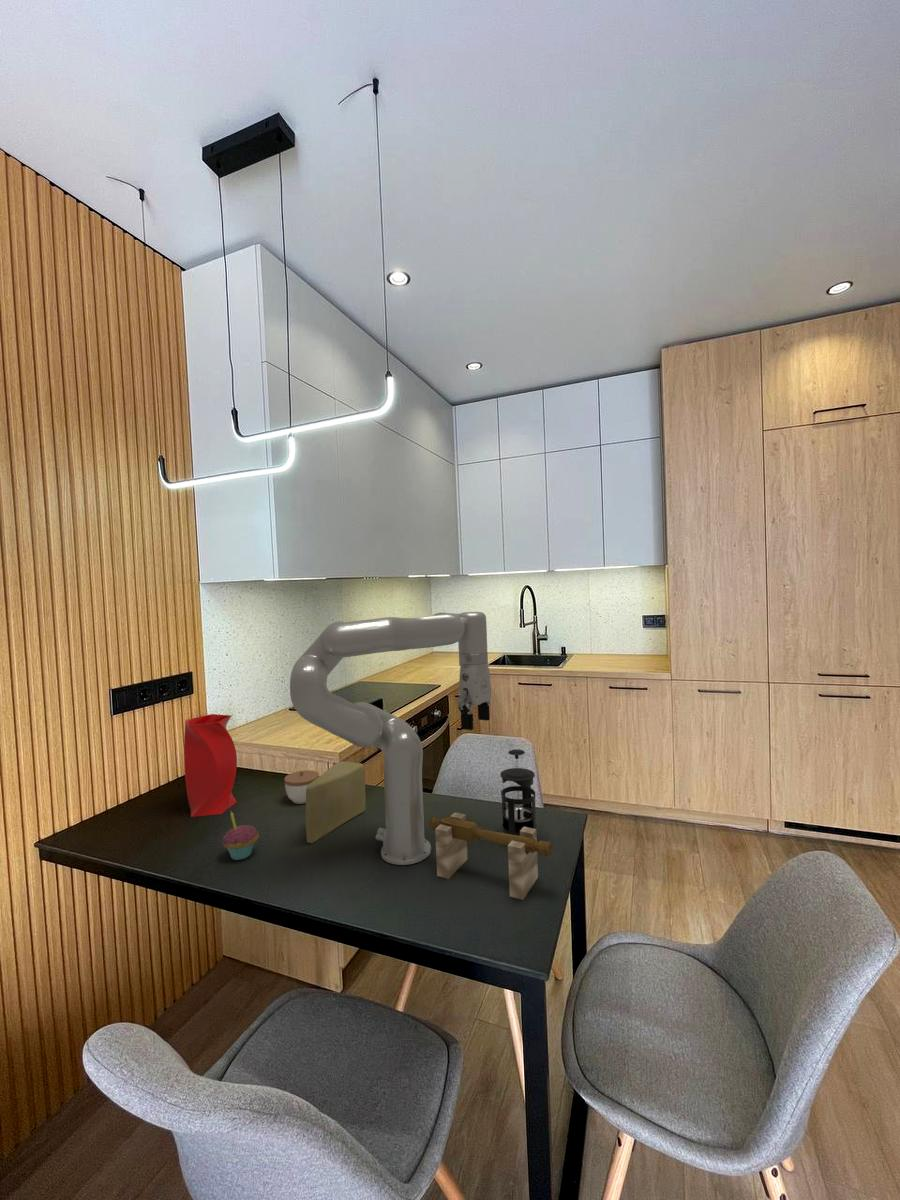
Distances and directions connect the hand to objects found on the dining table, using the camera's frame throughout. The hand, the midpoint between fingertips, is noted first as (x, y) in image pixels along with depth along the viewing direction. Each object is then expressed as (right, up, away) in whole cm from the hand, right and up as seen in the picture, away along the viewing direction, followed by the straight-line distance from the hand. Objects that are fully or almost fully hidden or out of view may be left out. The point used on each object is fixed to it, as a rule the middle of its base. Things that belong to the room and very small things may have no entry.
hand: (475, 724), depth 132 cm
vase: (-83, -33, +27) cm, 93 cm away
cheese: (-40, -32, +12) cm, 53 cm away
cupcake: (-60, -33, -3) cm, 69 cm away
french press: (+12, -30, +1) cm, 32 cm away
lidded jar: (-54, -32, +31) cm, 70 cm away
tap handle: (+2, -23, -17) cm, 28 cm away
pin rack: (+2, -31, -17) cm, 35 cm away
